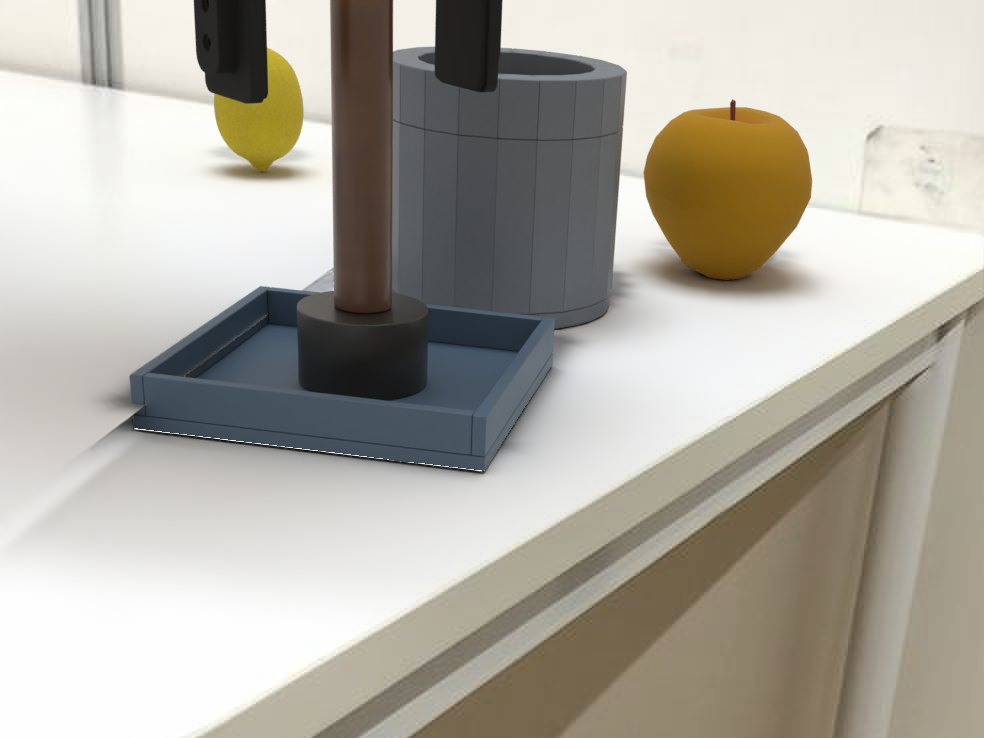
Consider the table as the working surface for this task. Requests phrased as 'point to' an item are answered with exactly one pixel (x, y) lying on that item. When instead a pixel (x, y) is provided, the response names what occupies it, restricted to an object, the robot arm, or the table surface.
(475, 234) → the jar
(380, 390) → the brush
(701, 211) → the apple
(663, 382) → the table surface
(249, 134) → the lemon
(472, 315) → the tray
